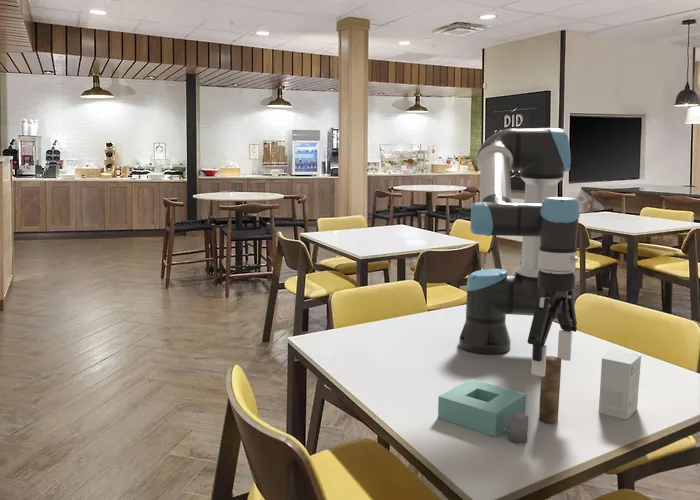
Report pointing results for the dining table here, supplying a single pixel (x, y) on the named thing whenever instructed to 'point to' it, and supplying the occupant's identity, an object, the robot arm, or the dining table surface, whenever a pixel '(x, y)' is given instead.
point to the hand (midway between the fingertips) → (551, 367)
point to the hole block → (480, 406)
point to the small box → (619, 384)
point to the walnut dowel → (550, 391)
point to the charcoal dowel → (518, 427)
